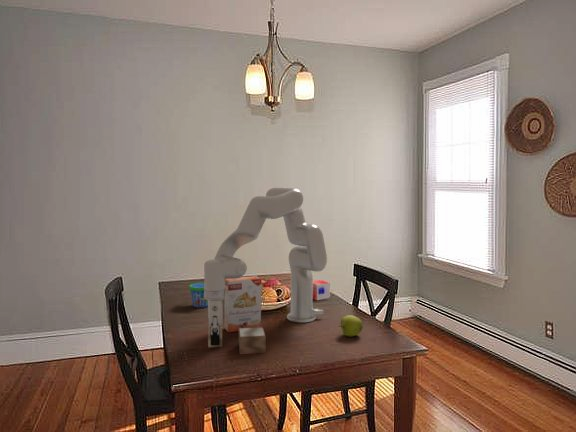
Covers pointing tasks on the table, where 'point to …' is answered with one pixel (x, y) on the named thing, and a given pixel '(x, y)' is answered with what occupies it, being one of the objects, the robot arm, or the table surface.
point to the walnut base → (252, 340)
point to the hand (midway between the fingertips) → (215, 340)
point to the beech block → (210, 336)
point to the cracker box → (242, 303)
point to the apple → (351, 325)
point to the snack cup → (198, 295)
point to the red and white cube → (321, 290)
